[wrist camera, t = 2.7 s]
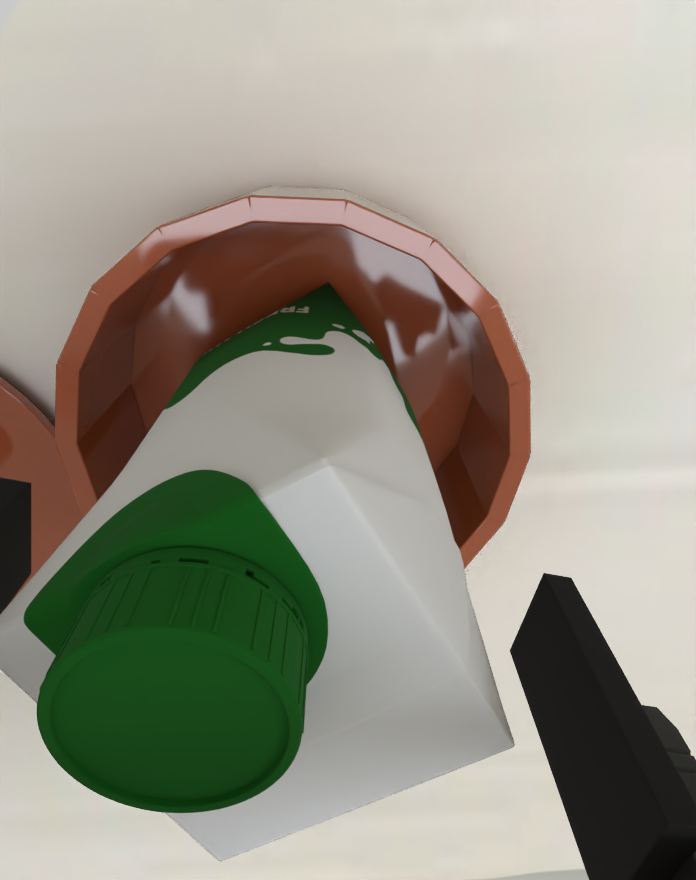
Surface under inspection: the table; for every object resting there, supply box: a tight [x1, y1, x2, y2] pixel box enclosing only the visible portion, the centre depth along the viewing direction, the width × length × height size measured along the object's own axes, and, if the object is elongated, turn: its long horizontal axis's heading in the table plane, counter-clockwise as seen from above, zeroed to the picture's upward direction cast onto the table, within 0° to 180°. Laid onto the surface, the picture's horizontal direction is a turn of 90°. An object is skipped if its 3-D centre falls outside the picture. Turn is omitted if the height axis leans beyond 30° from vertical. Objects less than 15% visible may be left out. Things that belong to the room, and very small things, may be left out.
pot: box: [55, 186, 531, 569], centre depth 25 cm, size 17×17×7 cm
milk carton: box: [0, 283, 514, 861], centre depth 19 cm, size 9×9×20 cm
